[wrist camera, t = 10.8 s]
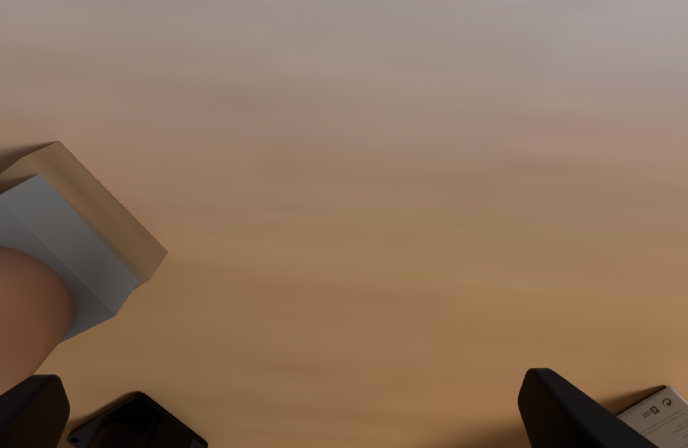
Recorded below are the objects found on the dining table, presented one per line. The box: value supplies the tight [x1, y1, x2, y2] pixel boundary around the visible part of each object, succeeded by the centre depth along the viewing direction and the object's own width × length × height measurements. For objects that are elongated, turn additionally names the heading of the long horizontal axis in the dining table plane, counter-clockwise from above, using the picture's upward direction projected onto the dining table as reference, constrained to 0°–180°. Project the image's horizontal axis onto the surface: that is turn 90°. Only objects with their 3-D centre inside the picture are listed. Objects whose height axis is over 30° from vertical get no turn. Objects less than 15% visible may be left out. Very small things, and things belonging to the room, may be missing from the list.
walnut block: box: [0, 141, 168, 290], centre depth 19 cm, size 7×7×3 cm
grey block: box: [0, 173, 139, 343], centre depth 17 cm, size 6×6×2 cm
